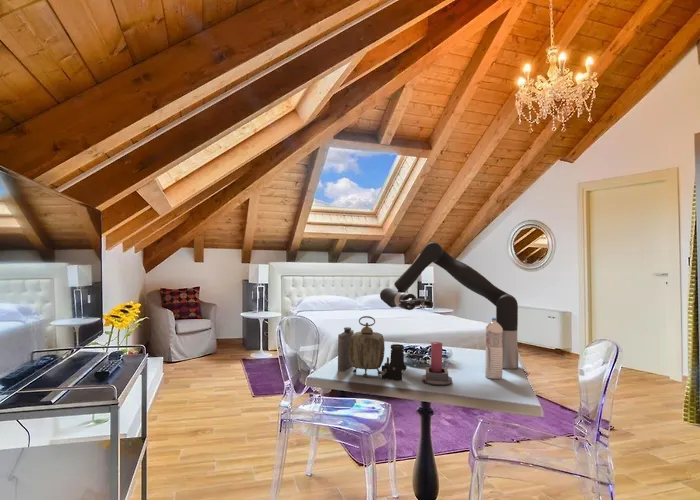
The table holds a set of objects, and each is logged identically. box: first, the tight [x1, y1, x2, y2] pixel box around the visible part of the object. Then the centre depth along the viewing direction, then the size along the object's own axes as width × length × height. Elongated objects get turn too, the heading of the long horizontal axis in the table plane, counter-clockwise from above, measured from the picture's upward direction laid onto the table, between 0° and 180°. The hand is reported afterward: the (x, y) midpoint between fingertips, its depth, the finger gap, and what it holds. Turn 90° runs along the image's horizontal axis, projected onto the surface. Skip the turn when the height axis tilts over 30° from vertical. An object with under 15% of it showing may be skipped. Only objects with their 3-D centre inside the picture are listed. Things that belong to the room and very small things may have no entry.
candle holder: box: [421, 366, 453, 387], centre depth 169 cm, size 12×12×4 cm
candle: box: [430, 341, 443, 373], centre depth 169 cm, size 4×4×14 cm
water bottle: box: [484, 317, 504, 380], centre depth 176 cm, size 7×7×25 cm
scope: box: [380, 343, 407, 382], centre depth 172 cm, size 8×14×10 cm
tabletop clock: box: [348, 315, 385, 378], centre depth 176 cm, size 14×9×25 cm, turn 80°
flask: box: [337, 326, 355, 373], centre depth 188 cm, size 4×14×18 cm, turn 160°
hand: (423, 304), depth 180 cm, fingers open, 8 cm apart
